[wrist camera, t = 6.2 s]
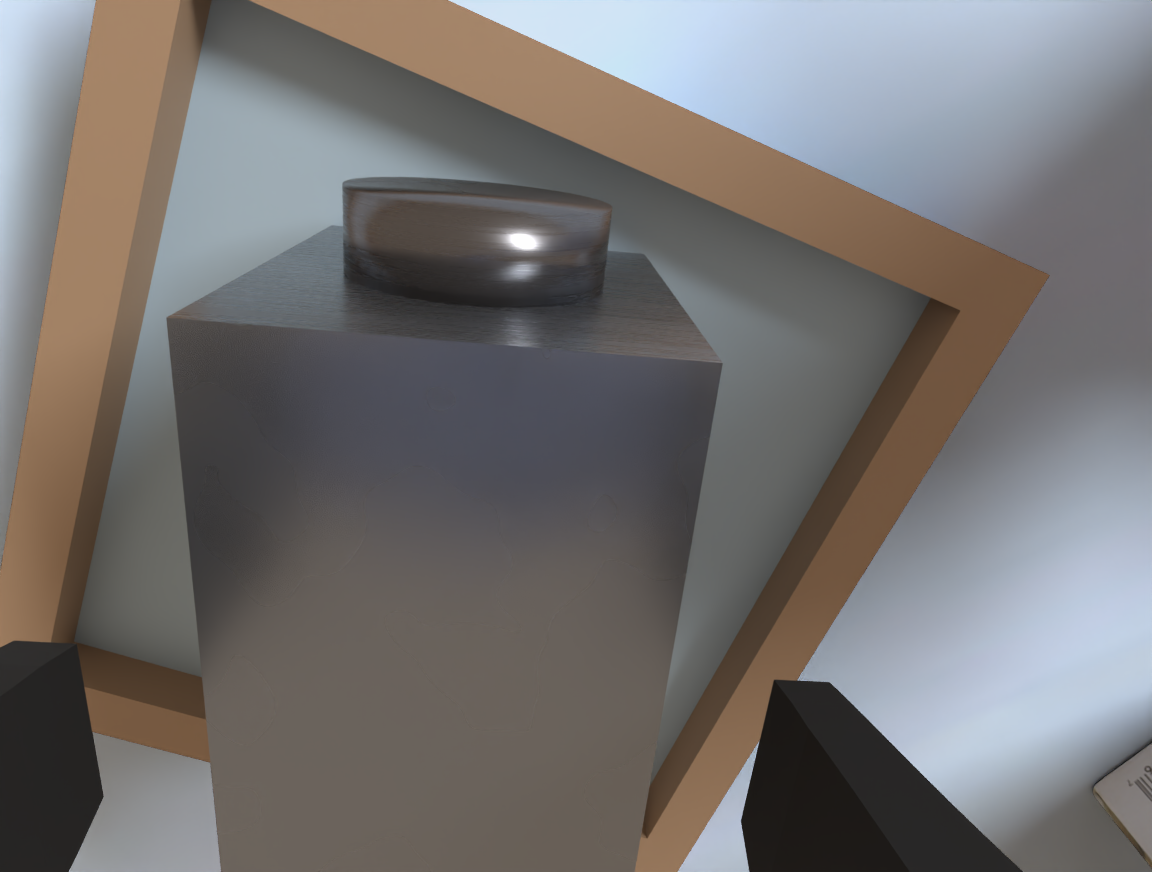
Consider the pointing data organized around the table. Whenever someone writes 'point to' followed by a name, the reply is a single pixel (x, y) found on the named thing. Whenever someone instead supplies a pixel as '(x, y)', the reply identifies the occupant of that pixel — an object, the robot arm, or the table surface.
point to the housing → (439, 532)
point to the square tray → (498, 155)
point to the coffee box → (1131, 800)
